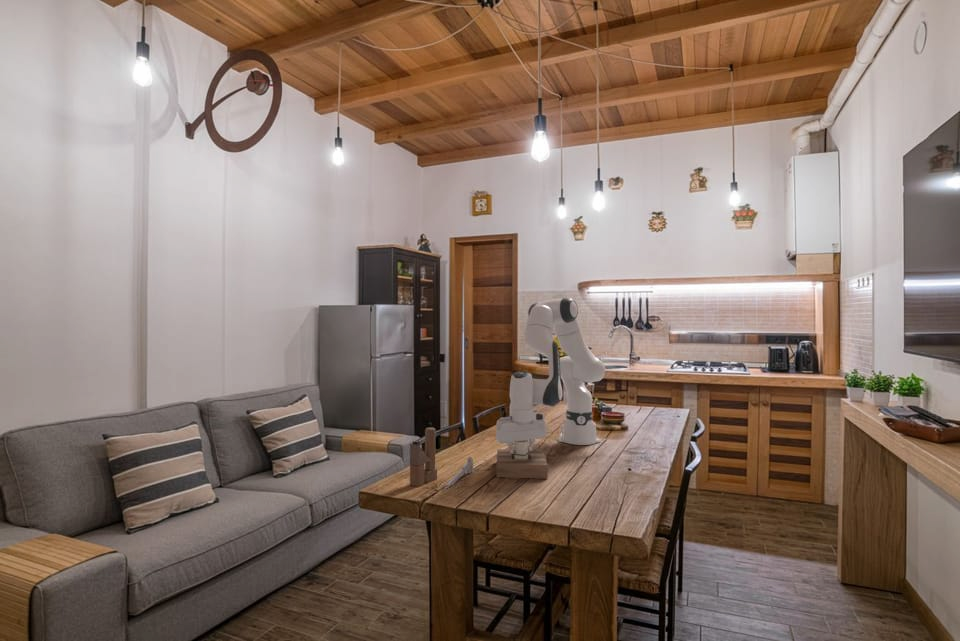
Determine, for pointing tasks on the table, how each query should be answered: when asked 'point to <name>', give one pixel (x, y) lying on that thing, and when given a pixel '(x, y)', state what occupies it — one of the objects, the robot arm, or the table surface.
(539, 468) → the socket block
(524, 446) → the square peg
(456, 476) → the caliper
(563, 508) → the table surface
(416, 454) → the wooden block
